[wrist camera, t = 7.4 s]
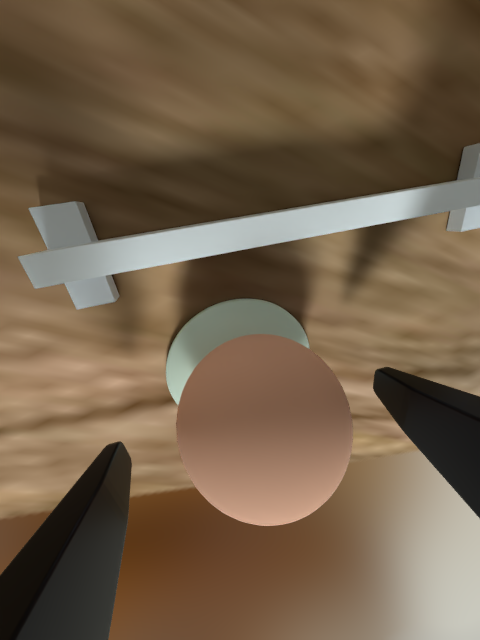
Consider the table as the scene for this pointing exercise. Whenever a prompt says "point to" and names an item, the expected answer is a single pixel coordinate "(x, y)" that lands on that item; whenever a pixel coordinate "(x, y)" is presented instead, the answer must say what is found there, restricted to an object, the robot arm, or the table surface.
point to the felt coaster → (225, 334)
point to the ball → (264, 429)
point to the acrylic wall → (228, 233)
